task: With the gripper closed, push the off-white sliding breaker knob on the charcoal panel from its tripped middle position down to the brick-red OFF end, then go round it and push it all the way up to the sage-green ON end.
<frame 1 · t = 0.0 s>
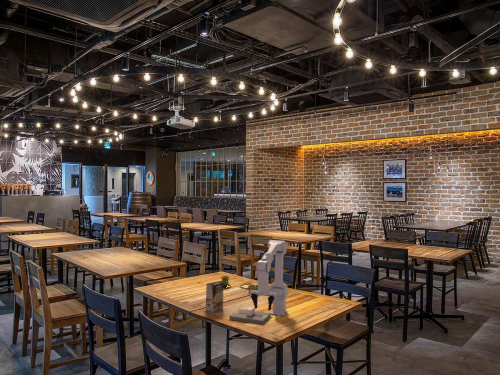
hand: (262, 309, 206), 10 cm above the table, tool pointing down, fingers open, 7 cm apart
breaker knob: (250, 311, 223), point 4 cm above the table, slide at 5.0 cm
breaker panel: (250, 318, 223), on the table
tableware set: (238, 288, 292), on the table
coffee box: (214, 309, 238), on the table
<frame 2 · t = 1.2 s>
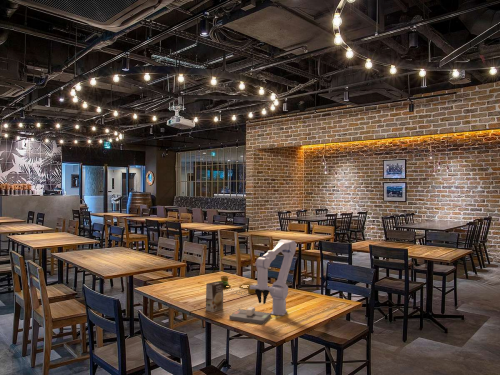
hand: (262, 303, 220), 9 cm above the table, tool pointing down, fingers closed
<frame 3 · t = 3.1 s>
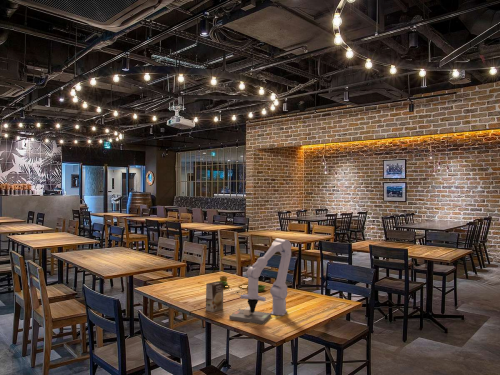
hand: (252, 312, 222), 3 cm above the table, tool pointing down, fingers closed
breaker knob: (248, 310, 223), point 4 cm above the table, slide at 3.6 cm, touching gripper
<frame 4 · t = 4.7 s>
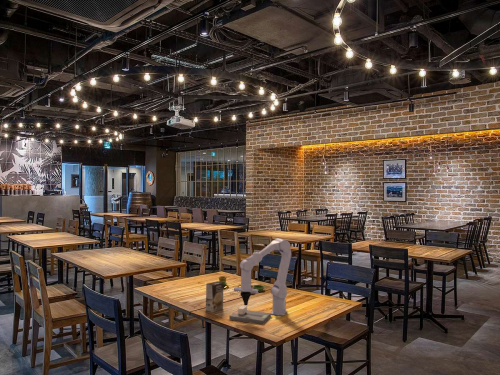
hand: (245, 304, 224), 7 cm above the table, tool pointing down, fingers closed
breaker knob: (242, 310, 225), point 4 cm above the table, slide at -0.1 cm
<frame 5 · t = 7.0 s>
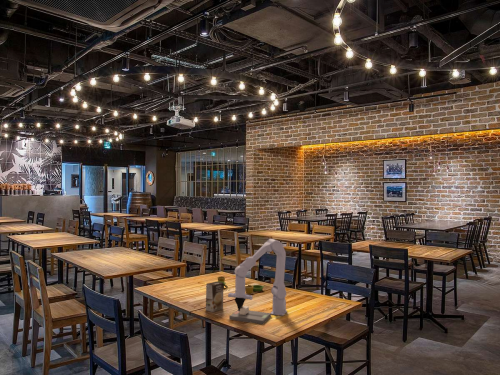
hand: (240, 310, 225), 3 cm above the table, tool pointing down, fingers closed
breaker knob: (244, 310, 224), point 4 cm above the table, slide at 1.2 cm, touching gripper
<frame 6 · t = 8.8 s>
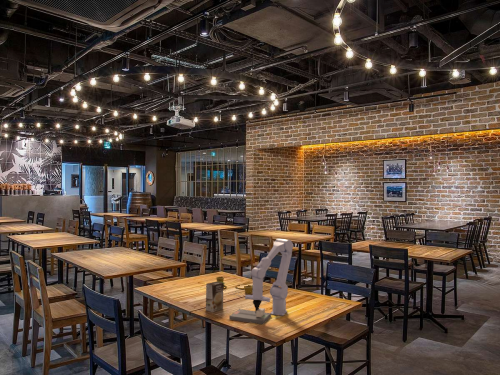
hand: (257, 313, 221), 3 cm above the table, tool pointing down, fingers closed, pressing on breaker knob
breaker knob: (260, 312, 220), point 4 cm above the table, slide at 11.0 cm, touching gripper
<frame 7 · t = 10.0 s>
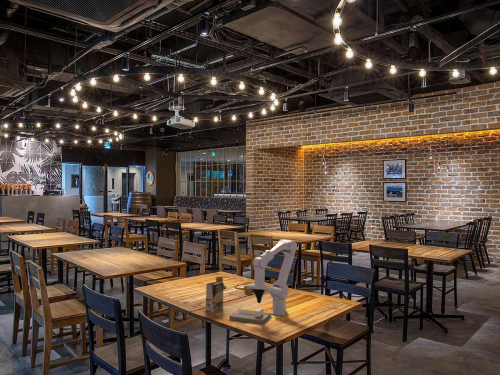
hand: (259, 302, 221), 9 cm above the table, tool pointing down, fingers closed
breaker knob: (258, 312, 221), point 4 cm above the table, slide at 10.0 cm
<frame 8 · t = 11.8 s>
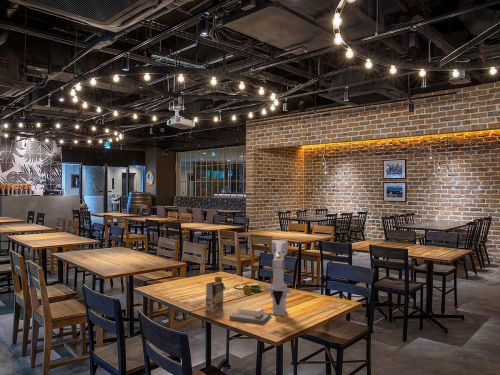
hand: (277, 304, 218), 9 cm above the table, tool pointing down, fingers closed
at the end: breaker knob slide at 10.0 cm; coffee box moved 0.2 cm from its start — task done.
